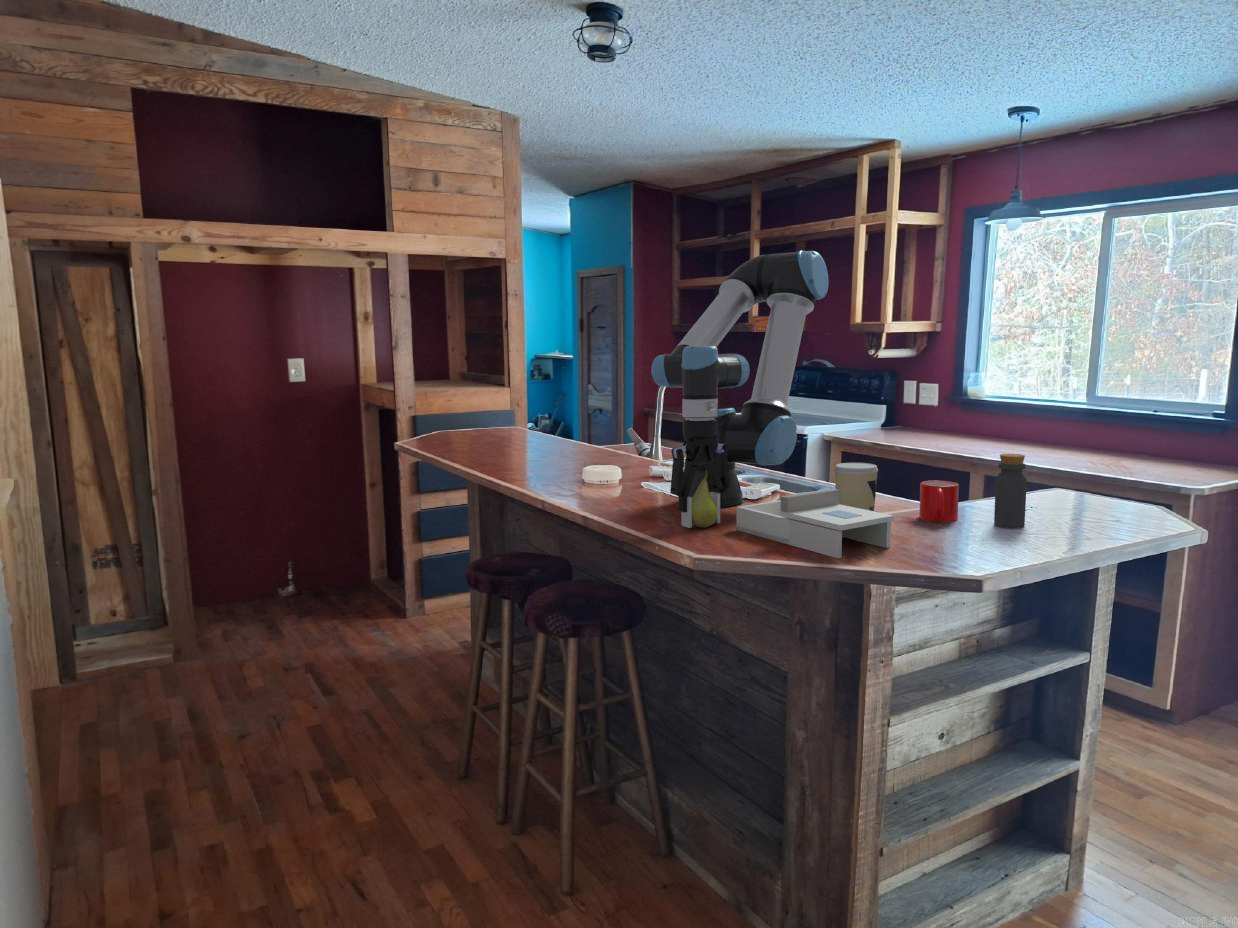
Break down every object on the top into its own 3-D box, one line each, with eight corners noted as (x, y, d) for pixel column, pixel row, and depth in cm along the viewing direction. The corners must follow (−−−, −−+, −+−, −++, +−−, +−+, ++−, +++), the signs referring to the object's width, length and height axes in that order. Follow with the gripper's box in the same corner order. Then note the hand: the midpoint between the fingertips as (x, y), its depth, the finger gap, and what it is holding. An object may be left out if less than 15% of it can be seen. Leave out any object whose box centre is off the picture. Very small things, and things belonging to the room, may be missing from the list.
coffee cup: (879, 523, 181) (880, 468, 179) (834, 522, 182) (835, 468, 181) (874, 514, 190) (876, 462, 188) (832, 514, 191) (833, 462, 190)
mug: (921, 525, 178) (922, 489, 177) (918, 514, 189) (919, 479, 188) (961, 527, 176) (962, 490, 175) (955, 515, 187) (957, 480, 186)
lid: (780, 516, 165) (780, 496, 165) (831, 507, 172) (832, 488, 172) (840, 530, 152) (841, 509, 151) (893, 520, 159) (894, 500, 158)
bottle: (1000, 521, 180) (1003, 452, 178) (1028, 525, 176) (1032, 454, 174) (989, 525, 176) (992, 455, 174) (1018, 529, 172) (1021, 457, 170)
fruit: (682, 529, 179) (681, 474, 178) (692, 522, 186) (691, 469, 185) (712, 531, 177) (712, 475, 175) (721, 523, 184) (721, 470, 182)
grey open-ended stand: (736, 530, 178) (736, 506, 177) (786, 521, 185) (786, 499, 184) (837, 558, 153) (838, 531, 152) (890, 547, 160) (890, 521, 159)
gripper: (672, 422, 170) (673, 533, 173) (747, 416, 180) (747, 521, 183) (651, 420, 176) (653, 527, 179) (726, 414, 186) (726, 515, 190)
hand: (700, 524), depth 181 cm, fingers closed on fruit, 7 cm apart
